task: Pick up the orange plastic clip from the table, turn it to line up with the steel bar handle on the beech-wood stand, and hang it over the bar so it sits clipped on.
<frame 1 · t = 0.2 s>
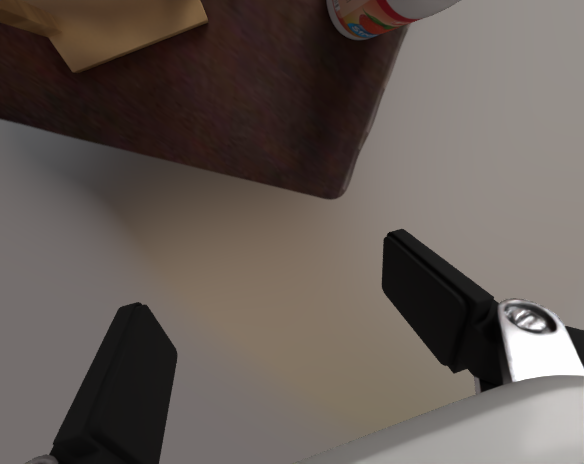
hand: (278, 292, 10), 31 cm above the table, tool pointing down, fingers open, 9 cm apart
rail stand: (120, 3, 26), on the table
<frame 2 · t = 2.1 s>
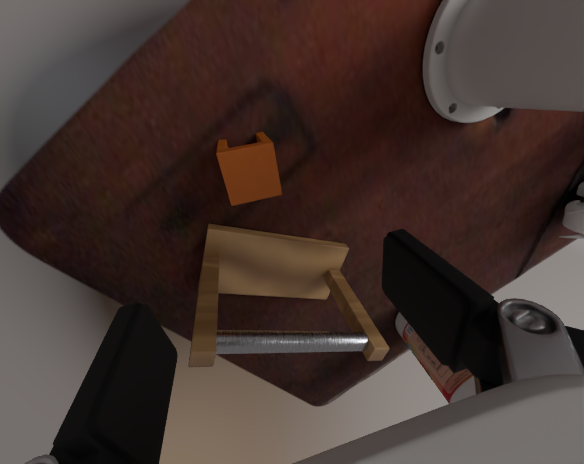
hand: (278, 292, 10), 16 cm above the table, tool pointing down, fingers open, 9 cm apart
fruit juice: (418, 312, 41), on the table
elephant figurine: (577, 197, 36), on the table
clip: (246, 158, 23), on the table
rail stand: (274, 263, 29), on the table
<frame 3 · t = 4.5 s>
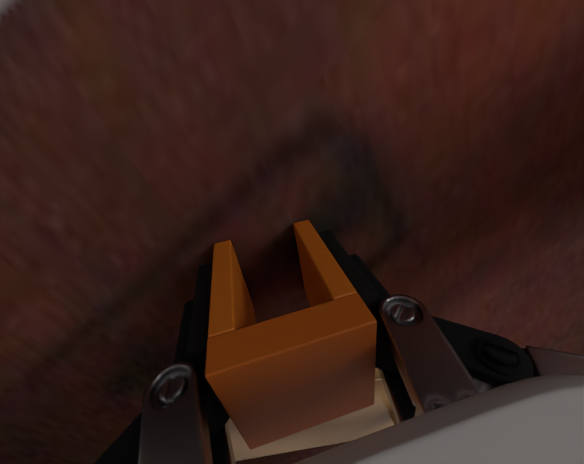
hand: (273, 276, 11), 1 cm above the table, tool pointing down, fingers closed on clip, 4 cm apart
clip: (271, 268, 11), on the table, touching gripper
rail stand: (312, 401, 18), on the table
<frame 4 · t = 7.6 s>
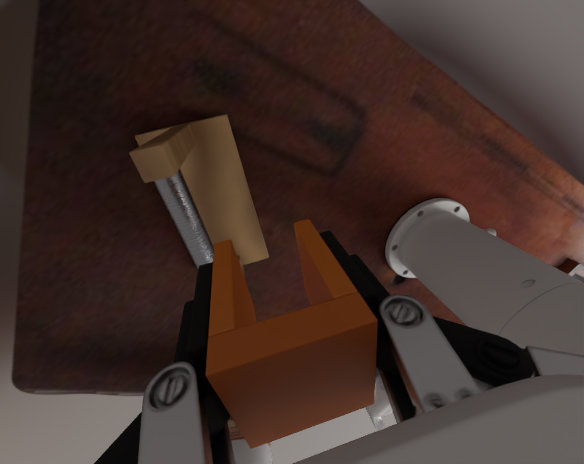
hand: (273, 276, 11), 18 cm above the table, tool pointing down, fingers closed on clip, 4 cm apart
fruit juice: (230, 363, 40), on the table
elephant figurine: (369, 368, 50), on the table
picture frame: (554, 307, 55), on the table
clip: (272, 267, 11), point 17 cm above the table, touching gripper
rail stand: (213, 203, 26), on the table
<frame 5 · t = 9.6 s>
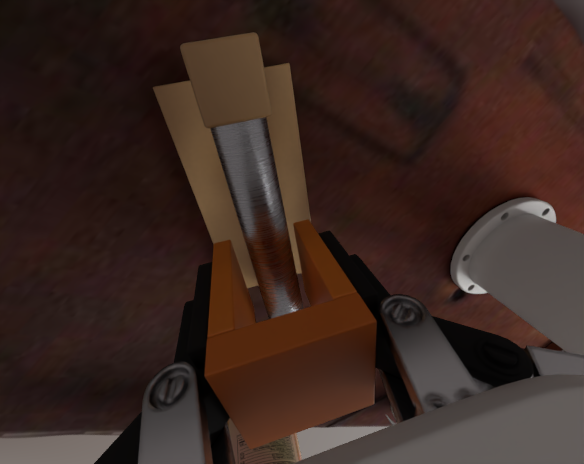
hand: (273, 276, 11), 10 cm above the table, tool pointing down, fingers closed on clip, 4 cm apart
fruit juice: (251, 394, 32), on the table
clip: (271, 267, 11), point 10 cm above the table, touching gripper
rail stand: (253, 194, 19), on the table
when the fingers open (8 cm above the table, at t = 10.8 s): clip stays where it is, resting on rail stand.
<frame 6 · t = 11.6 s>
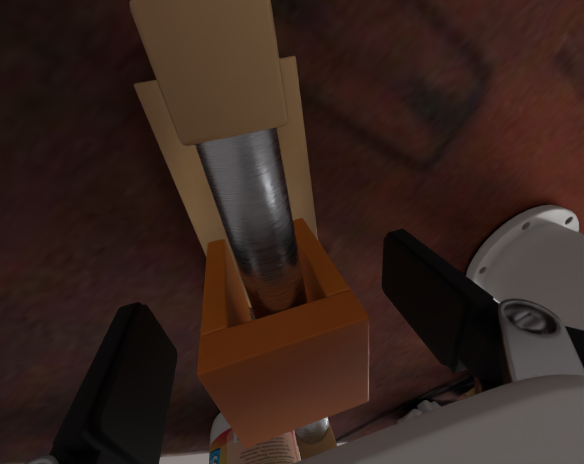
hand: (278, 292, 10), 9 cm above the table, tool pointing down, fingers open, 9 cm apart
fruit juice: (251, 414, 30), on the table
elephant figurine: (412, 408, 41), on the table
clip: (266, 267, 11), point 7 cm above the table, touching rail stand
rail stand: (253, 206, 17), on the table
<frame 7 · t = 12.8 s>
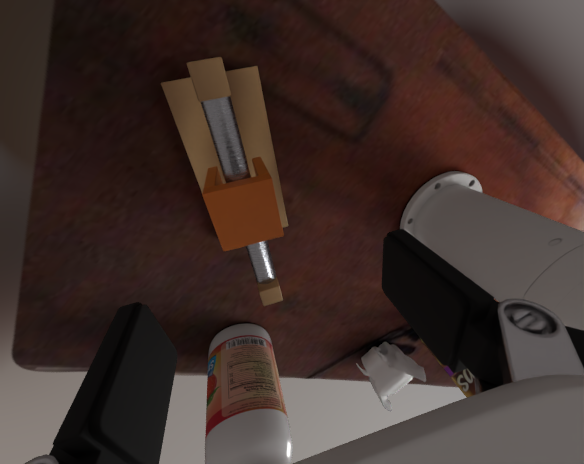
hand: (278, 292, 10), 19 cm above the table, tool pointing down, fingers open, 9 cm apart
candy box: (438, 325, 52), on the table
fruit juice: (240, 341, 39), on the table
elephant figurine: (375, 349, 50), on the table
clip: (241, 186, 20), point 7 cm above the table, touching rail stand
rail stand: (235, 165, 26), on the table
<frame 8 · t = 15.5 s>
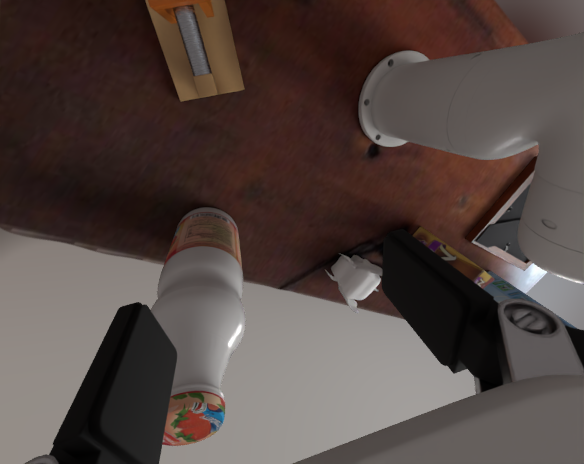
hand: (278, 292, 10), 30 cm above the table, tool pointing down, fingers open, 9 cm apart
candy box: (409, 245, 53), on the table
fruit juice: (208, 231, 41), on the table
elephant figurine: (347, 264, 52), on the table
picture frame: (524, 219, 58), on the table
rail stand: (190, 14, 28), on the table
gum box: (470, 298, 68), on the table
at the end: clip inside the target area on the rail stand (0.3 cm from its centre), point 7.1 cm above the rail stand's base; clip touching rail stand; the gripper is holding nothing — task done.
